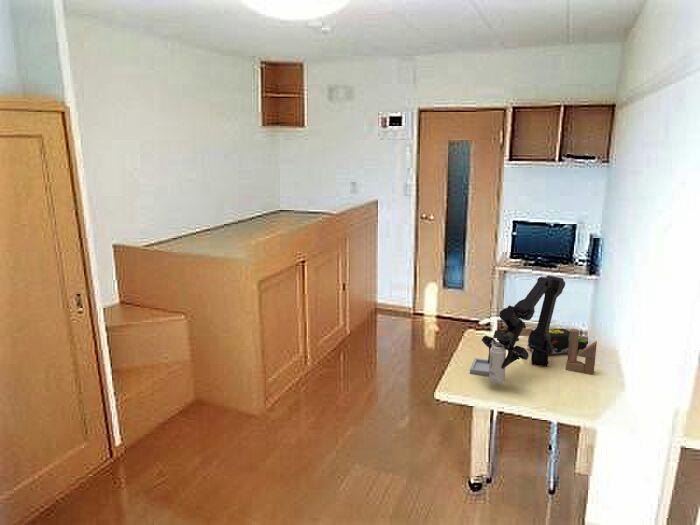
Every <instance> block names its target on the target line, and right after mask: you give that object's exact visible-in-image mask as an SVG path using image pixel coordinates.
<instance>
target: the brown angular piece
mask: <svg viewBox="0 0 700 525" xmlns="http://www.w3.org/2000/svg"><path fill="white" fill-rule="evenodd" d="M569 331H570V336H569V348H568V352H567V359H566V362H565V370H566V371H573V372H577V373H583V374H587V375H594V373H595V366H596V354H597V345H598V340H595V341H594V342H592V343H591V344H589V345H587V347H586V348H584V349H583V350H581V351H579V352H578V353H577V350H578V339H579V337H580V329H578V328H570V329H569ZM578 357H581V358H584V359H585V360H584V362H582V361H580V360H577V358H578Z"/></svg>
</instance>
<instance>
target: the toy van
mask: <svg viewBox="0 0 700 525" xmlns="http://www.w3.org/2000/svg"><path fill="white" fill-rule="evenodd" d="M549 333H550V336H551V340H550V342H551V344H552V345H553V346H554V348H553V352H552V353H551V354H549V355H548V358H549V357H552V354H562V353H563V354H564V353H568V348H569V336H570V330H567V329H566V328H563V327H562V328H549ZM530 334H531V332H529V336H528V338H527V344H526V347H527V348H528V349H530V347H529V337H530ZM587 346H588V342H587V341H586V340H584V339H583V338H582V337H580V336H579V339H578V350H577V353H578V352H579V351H581V350H583V349H584V348H586V347H587ZM530 351H531V352H532V351H533V349H530Z"/></svg>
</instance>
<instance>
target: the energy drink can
mask: <svg viewBox="0 0 700 525" xmlns="http://www.w3.org/2000/svg"><path fill="white" fill-rule="evenodd" d="M506 353H507V350H505V348H504V345H501V344H493V345H492V347H491V349H490V363H489V376H488V379H489V381H490V383H492V384H495V385H500V384H503V383H504V381H505V379H506V378H505V377H506V376H505V375H506V367H505V368H504V369H502V368H501V367H502V364H503V363H504V361H505V359H506V357H507V355H506Z"/></svg>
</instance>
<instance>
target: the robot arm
mask: <svg viewBox="0 0 700 525" xmlns="http://www.w3.org/2000/svg"><path fill="white" fill-rule="evenodd" d="M565 287H566V282H565V280H564V278H563V277H559V276H554V275H550V274H549V275H547V276H546V277H545V276H540V277H538V278H537V280H536V283H535V284H534V285H533V287H532V288H531V290H530V291H529V292H528V293H527V295H526V296H525V297H524V299H521V300H519V301H518V302H516V303H515V305H508V306H507V307H505V308H503V309H502V310H500V311H499V313H498V314H499V316H498V317H499V318H500V319H501V321H502V322H503V324H504V325H505V326H506V328H505V329H503V330H502V331H501V330H494V333H493V336H492V337H491V336H489V335H483V337H481V338H482V339H481V342H482V343H483V344H484V345H485V346H486V347H487V348H488V358H487V360H488V363H490V349H491V347H492V345H493V344H501V345H504V348H505V350H506V351H507V355H506V359H505V361H504V363H503V364H502V367H501V368H502V369H504V368H505V369H506V368H507V367H508V366H509V365H511V364H512V363H514V362H516V361H517V360H520V359H521V360H525V361H527V360H528V358H529V356H530V355H529V352H528V351H527V349H526V348H525V347H523V346H520V345H517V344H516V343H517V342H519V341H520V337H519V336H520V335H521V333H522V332H523V329H526V328H527V327H526V326H527V325H526V322H525V321H530V320H531V319H532V318H533V316H534V314H535V313H536V311H535V308H536V305H537V304H538V303H539V302H540V300H541V298H542V297H543V296H544V298H543V301H542V302H543V303H542V305H541V309H540V314H539V317H538V322H537V325H536V327H535V329H533V330H530V333H531V334H530V333H529V335H530V337H529V336H528V338H529V347H530V348H529V350H531V349H533V351H532V350H531V357H530V361H531V365H532V366H539V367H545V368H546V367H548V366H549V357H548V355H549V354H551V355H552V352H553V348H554V346H553V345H552V344H551V342H550V340H551V336H550V333H549V329H550V327H551V323H552V318H553V314H554V309H555V306H556V302H557V298H558V297H559V296H560V295H562V294H563V291H564V289H565ZM523 320H524V321H523Z"/></svg>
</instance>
